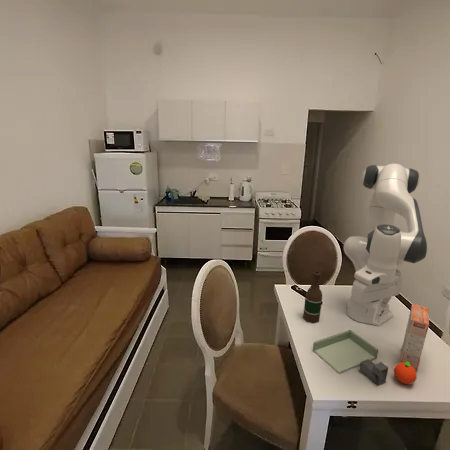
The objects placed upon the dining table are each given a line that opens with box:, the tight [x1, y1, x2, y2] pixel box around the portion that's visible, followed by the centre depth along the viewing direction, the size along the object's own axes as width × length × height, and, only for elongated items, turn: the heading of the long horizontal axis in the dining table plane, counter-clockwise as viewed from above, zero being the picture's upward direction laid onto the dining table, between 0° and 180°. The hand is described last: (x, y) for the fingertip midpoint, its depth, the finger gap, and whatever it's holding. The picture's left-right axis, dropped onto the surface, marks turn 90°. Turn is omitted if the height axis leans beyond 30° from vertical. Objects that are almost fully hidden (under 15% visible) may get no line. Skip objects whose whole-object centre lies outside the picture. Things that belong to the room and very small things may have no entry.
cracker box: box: [399, 303, 430, 374], centre depth 119 cm, size 14×6×21 cm, turn 148°
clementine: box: [393, 362, 417, 385], centre depth 110 cm, size 8×7×7 cm
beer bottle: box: [303, 270, 323, 324], centre depth 144 cm, size 8×8×24 cm
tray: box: [312, 329, 379, 375], centre depth 123 cm, size 20×14×4 cm
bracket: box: [358, 359, 389, 387], centre depth 112 cm, size 8×4×6 cm, turn 26°
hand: (373, 309), depth 109 cm, fingers open, 8 cm apart
